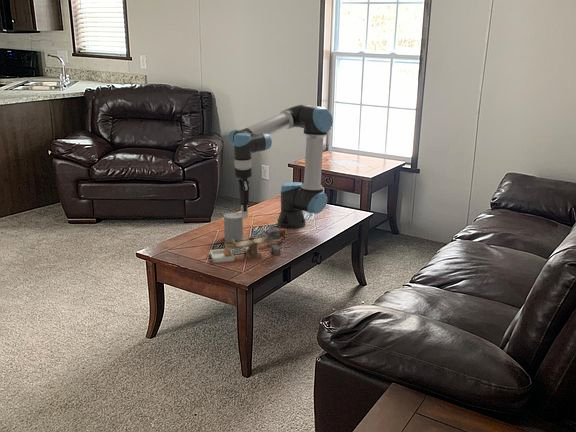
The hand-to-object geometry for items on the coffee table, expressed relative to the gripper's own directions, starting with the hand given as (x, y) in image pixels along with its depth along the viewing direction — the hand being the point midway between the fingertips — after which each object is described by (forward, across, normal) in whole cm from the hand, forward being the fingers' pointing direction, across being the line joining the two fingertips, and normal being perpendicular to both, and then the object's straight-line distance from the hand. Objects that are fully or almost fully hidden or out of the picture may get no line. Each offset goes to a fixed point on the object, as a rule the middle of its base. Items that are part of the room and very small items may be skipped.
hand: (244, 217), depth 270 cm
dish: (+18, +2, -12) cm, 22 cm away
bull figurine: (+19, -10, +16) cm, 27 cm away
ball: (+16, +2, -9) cm, 18 cm away
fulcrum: (+18, +2, +3) cm, 19 cm away
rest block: (+19, +2, +14) cm, 23 cm away
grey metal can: (+19, -21, -2) cm, 29 cm away
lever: (+12, +2, +3) cm, 13 cm away
